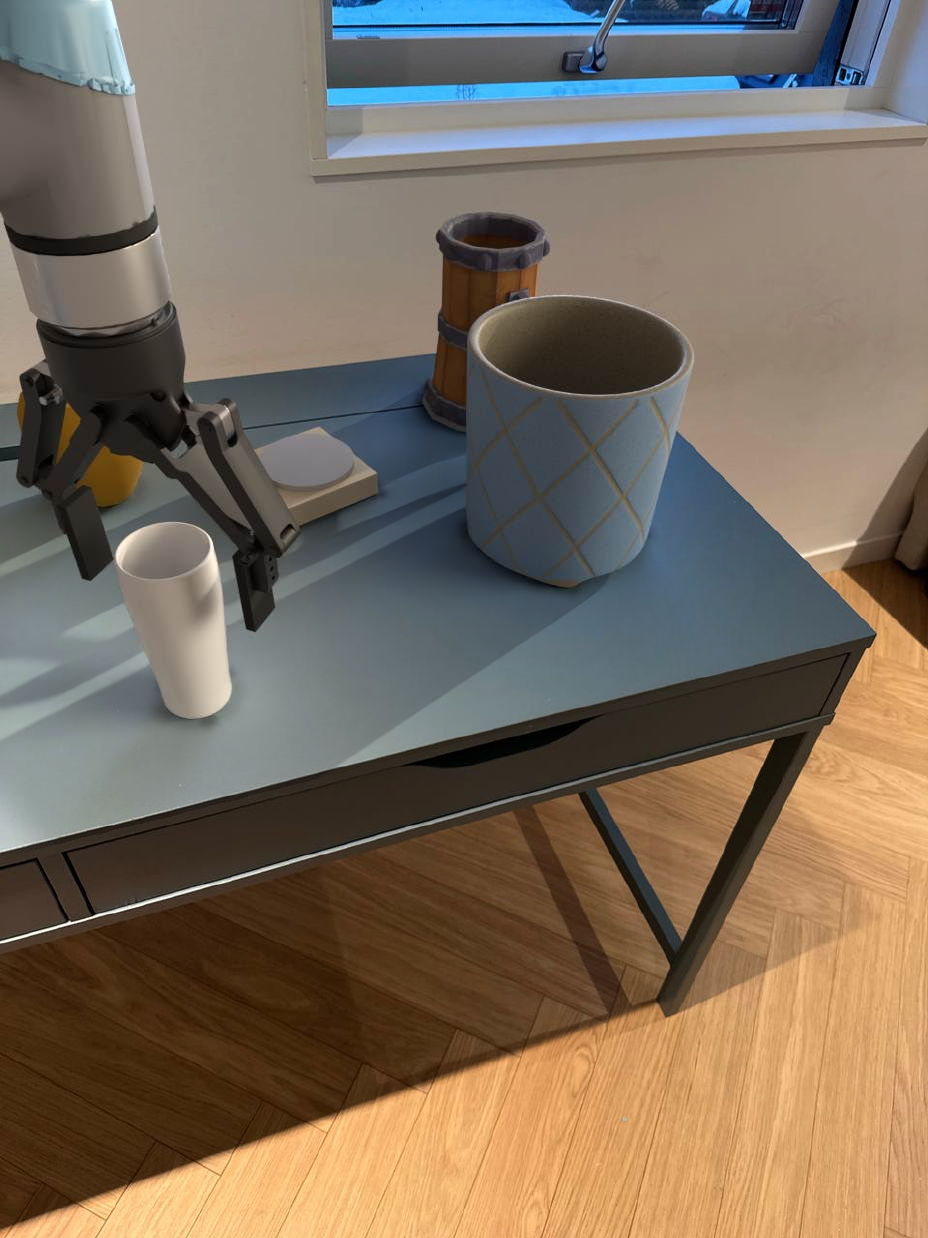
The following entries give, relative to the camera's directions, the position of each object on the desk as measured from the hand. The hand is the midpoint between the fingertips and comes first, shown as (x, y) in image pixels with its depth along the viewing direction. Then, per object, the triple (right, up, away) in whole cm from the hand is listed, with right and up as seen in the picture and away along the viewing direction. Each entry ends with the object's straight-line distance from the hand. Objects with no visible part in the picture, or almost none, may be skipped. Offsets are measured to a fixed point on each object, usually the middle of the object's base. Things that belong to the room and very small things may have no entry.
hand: (177, 593), depth 65 cm
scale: (+4, +12, +29) cm, 32 cm away
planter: (+30, +7, +25) cm, 39 cm away
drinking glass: (-1, -8, +8) cm, 11 cm away
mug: (+24, +22, +42) cm, 53 cm away
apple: (-16, +11, +27) cm, 33 cm away
